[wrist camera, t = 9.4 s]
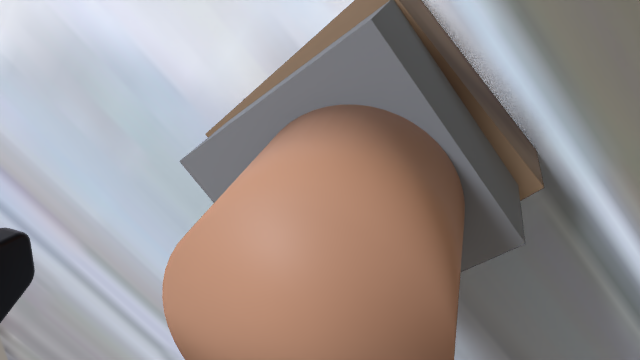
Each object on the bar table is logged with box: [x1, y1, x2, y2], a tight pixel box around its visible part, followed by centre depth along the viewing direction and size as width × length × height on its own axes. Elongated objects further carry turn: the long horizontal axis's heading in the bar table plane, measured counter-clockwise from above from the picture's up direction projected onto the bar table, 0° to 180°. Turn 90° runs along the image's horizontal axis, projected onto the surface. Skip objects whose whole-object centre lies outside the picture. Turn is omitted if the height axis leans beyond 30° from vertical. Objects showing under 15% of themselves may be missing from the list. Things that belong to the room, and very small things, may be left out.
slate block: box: [180, 0, 525, 272], centre depth 14 cm, size 6×6×3 cm
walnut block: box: [206, 0, 544, 201], centre depth 17 cm, size 7×7×3 cm
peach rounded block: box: [162, 104, 465, 360], centre depth 11 cm, size 5×5×4 cm
